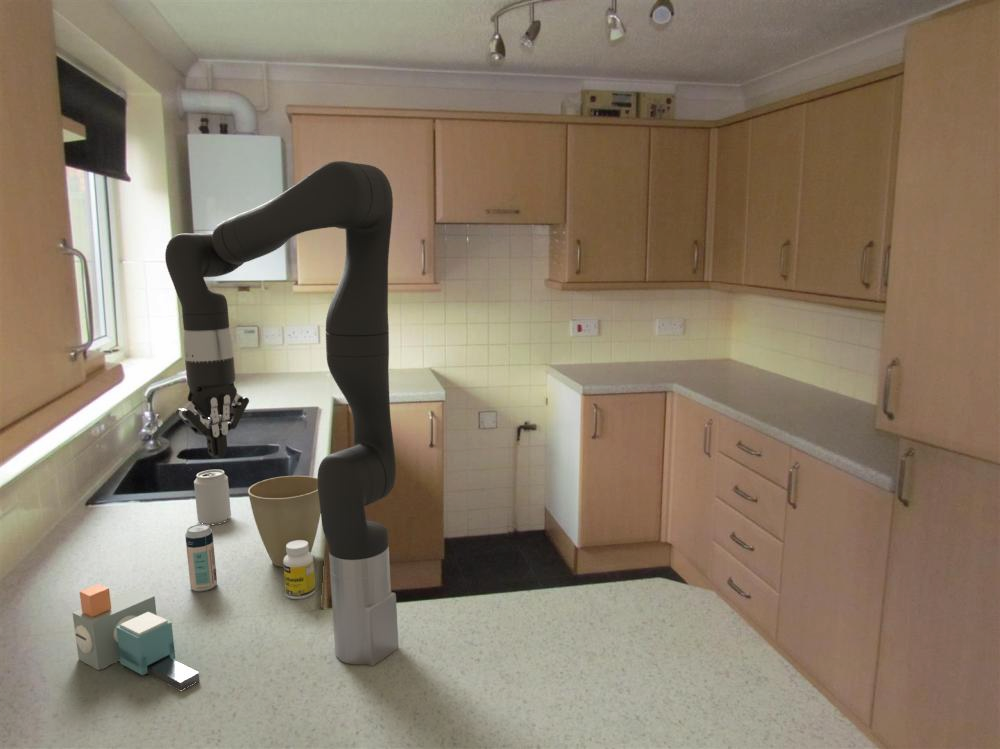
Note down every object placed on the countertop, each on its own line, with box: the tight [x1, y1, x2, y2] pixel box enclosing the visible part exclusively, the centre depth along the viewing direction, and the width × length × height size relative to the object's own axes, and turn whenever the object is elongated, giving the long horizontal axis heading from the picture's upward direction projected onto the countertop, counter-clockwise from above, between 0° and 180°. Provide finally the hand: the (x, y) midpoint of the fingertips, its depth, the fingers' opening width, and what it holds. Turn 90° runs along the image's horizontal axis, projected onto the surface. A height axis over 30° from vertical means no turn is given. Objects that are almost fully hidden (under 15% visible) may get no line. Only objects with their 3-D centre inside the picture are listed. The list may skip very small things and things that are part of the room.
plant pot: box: [247, 475, 321, 568], centre depth 150 cm, size 15×15×16 cm
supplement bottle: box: [283, 540, 316, 600], centre depth 135 cm, size 5×5×10 cm
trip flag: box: [79, 583, 111, 617], centre depth 114 cm, size 3×3×4 cm
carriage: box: [116, 612, 176, 676], centre depth 113 cm, size 6×5×6 cm
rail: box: [147, 656, 200, 691], centre depth 112 cm, size 16×3×2 cm, turn 57°
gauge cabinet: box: [72, 587, 158, 671], centre depth 117 cm, size 6×10×8 cm, turn 147°
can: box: [193, 469, 232, 526], centre depth 173 cm, size 8×8×12 cm
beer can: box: [184, 523, 218, 593], centre depth 138 cm, size 5×5×12 cm
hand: (218, 456), depth 124 cm, fingers closed
